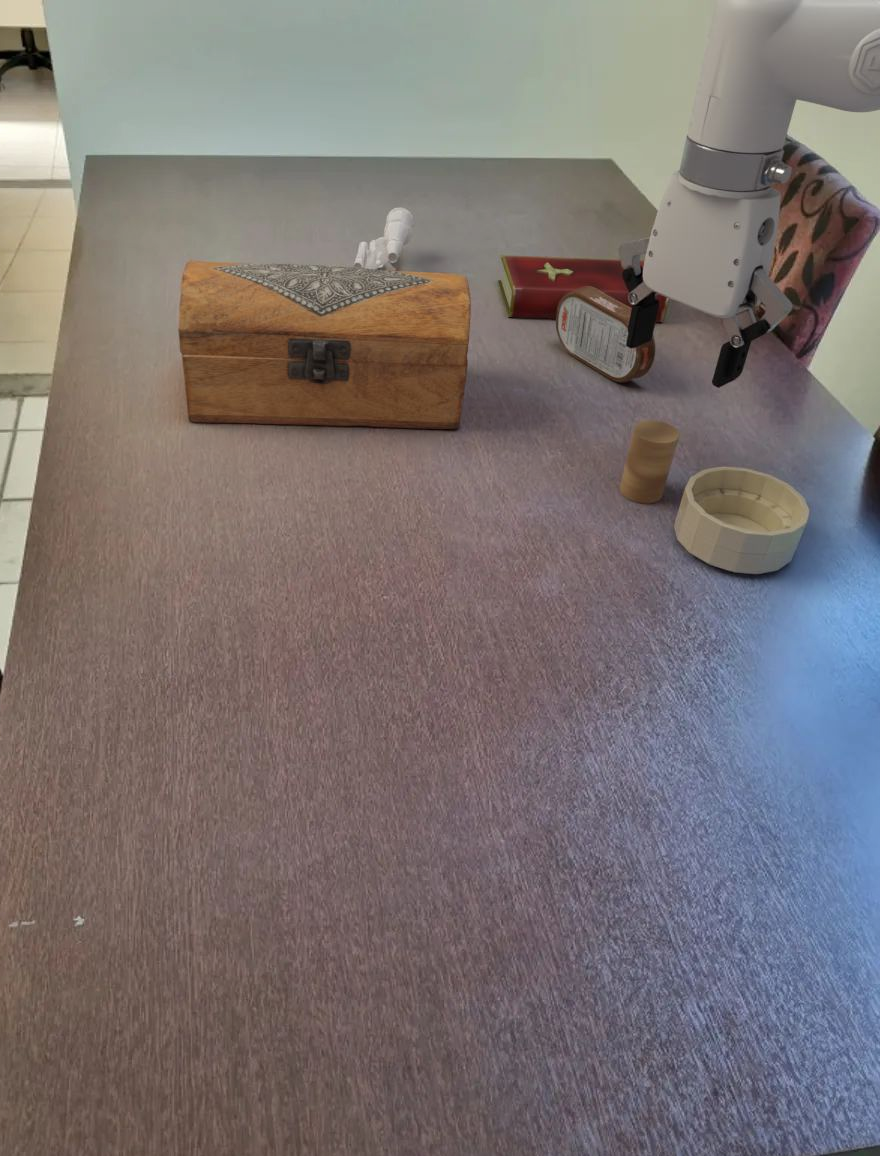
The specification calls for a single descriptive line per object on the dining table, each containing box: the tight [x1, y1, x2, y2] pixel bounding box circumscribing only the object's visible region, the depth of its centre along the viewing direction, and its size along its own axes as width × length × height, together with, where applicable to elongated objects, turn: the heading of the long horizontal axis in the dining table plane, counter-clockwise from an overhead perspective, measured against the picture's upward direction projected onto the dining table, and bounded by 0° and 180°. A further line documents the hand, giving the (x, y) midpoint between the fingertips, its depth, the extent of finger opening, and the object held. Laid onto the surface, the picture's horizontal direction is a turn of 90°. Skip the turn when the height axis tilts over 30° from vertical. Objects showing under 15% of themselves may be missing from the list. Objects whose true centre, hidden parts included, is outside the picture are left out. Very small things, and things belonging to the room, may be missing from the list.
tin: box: [555, 286, 656, 383], centre depth 117 cm, size 15×3×8 cm, turn 34°
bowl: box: [673, 466, 811, 575], centre depth 92 cm, size 11×11×5 cm
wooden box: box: [177, 260, 472, 430], centre depth 106 cm, size 30×16×14 cm, turn 91°
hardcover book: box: [497, 254, 670, 323], centre depth 133 cm, size 12×21×4 cm, turn 93°
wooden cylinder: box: [618, 419, 680, 505], centre depth 97 cm, size 4×4×7 cm
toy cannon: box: [352, 207, 415, 271], centre depth 137 cm, size 8×14×5 cm
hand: (680, 362), depth 90 cm, fingers open, 9 cm apart
